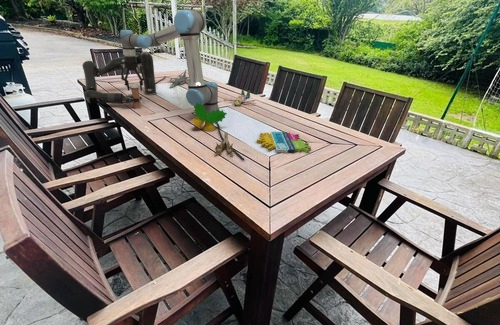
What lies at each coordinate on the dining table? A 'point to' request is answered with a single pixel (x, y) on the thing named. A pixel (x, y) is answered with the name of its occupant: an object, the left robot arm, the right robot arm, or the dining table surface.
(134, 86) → the lid
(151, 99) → the dining table surface
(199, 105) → the ornament
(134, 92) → the jar
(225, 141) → the jawbone
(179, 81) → the airplane
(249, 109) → the dining table surface
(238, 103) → the toy
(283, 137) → the sign
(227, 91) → the dining table surface
